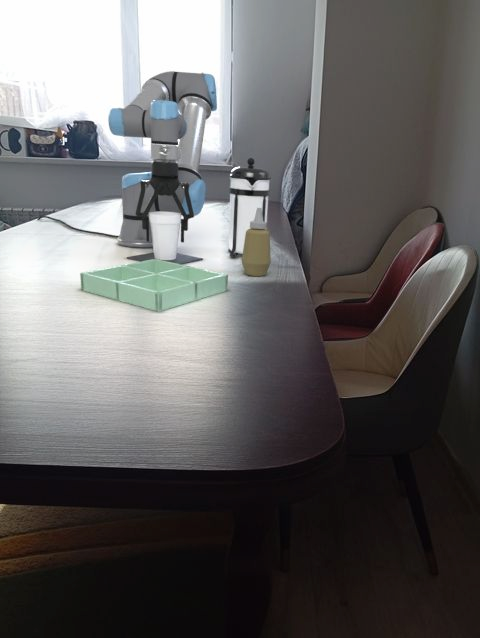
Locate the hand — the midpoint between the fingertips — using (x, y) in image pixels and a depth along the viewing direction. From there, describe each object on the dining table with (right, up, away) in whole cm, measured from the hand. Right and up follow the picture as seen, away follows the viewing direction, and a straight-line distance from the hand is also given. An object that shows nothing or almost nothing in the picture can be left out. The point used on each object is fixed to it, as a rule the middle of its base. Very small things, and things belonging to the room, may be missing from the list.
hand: (165, 241), depth 153 cm
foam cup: (0, -5, +2) cm, 5 cm away
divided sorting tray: (+4, -18, -31) cm, 36 cm away
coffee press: (+23, -1, +16) cm, 28 cm away
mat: (0, -5, +2) cm, 5 cm away
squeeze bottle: (+27, -11, -9) cm, 31 cm away
